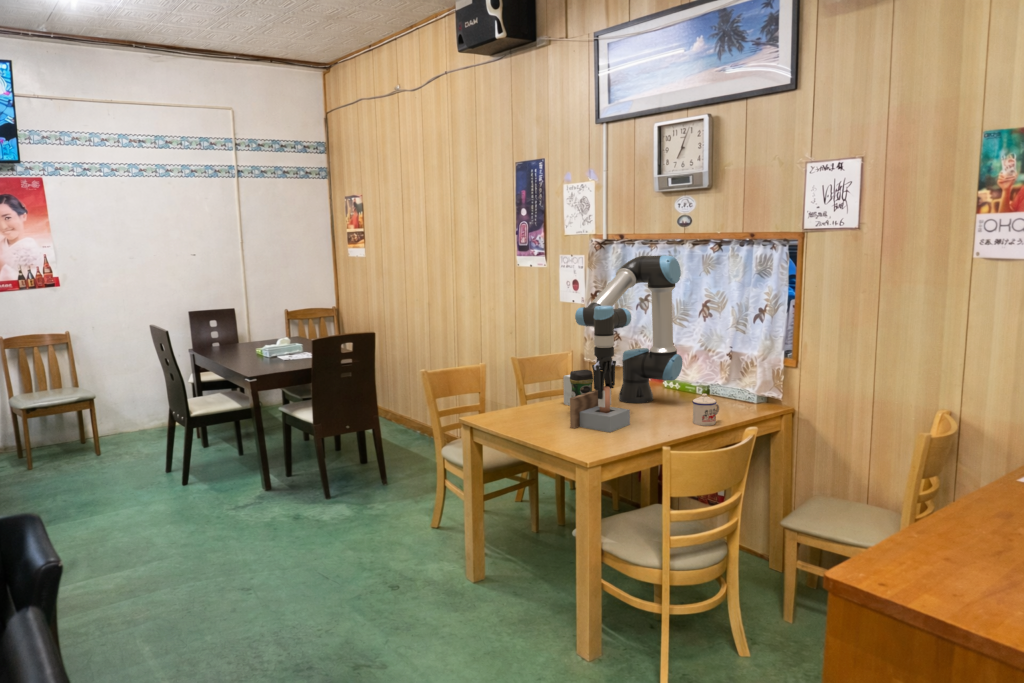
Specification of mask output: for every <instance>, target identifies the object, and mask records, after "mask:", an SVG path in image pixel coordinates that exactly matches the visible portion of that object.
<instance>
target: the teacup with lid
mask: <svg viewBox="0 0 1024 683" xmlns="http://www.w3.org/2000/svg"><path fill="white" fill-rule="evenodd" d="M719 412H720V405H719V403H717V399H714V398H712V397H710V396H708V394H707V393H702V394H701V396H699V397H696V398H693V400H692V423H693V424H694V425H698V426H703V427H707V426H709V427H710V426H713V425H716V422H717V415H718V414H719Z"/></svg>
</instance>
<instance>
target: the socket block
mask: <svg viewBox="0 0 1024 683" xmlns="http://www.w3.org/2000/svg"><path fill="white" fill-rule="evenodd" d="M630 422H631V410H630V409H629V408H628V409H627V408H621V407H620V408H619V407H616V406H610V412H609V413H602V412H600V407H598V406H596V407H593V408H590V409H587V410H584V411H581V412H580V427H579V428H584V429H587V430H588V429H589V430H594V431H600V432H606V433H613V432H615V431H618V430H620V429H622V428H625V427H627V426H630V425H631V423H630Z"/></svg>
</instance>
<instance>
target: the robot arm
mask: <svg viewBox="0 0 1024 683" xmlns="http://www.w3.org/2000/svg"><path fill="white" fill-rule="evenodd" d="M681 270H682V269H681V266H680V262H679V261H678V260H677V257H675V256H673V255H666V254H665V255H661V254H660V255H640V256H637V257H634V258H632V259H630V260H629V261H627V262H626V263H624V264H623V265H622V266H621V267H620V268H619V269H618V270H617V271H616V273H615V276H614V278H612V280H611V281H610V282H608V284H607V285H606V286H605V287H604V288H603V289H602V290H601V291H600V292H599V293H598V295H597V296H595V298H594V299H593V300H592V301H591V302H590V303H589V304H588V305H587V306H586V307H585V306H583V307H578V308H577V310H576V311H575V314H574V319H575V322H576V324H577V325H578V326H583V327H587V328H588V327H591V328H592V327H593V328H594V329H593V331H594V332H593V335H594V340H593V342H594V343H593V344H594V347H593V348H594V352H593V354H594V357H595V358H596V363H595V364H592V365H591V368H592V371H593V372H592V374H593V389H594V390H598V407H605V391H604V386H608V387H610V406H611V405H612V389H614V388H615V385H616V365H617V360H613V358H612V357H614V356H615V347H614V345H615V335H614V333H615V329H622V328H625V327H627V326H629V325H630V324H631V322H632V315H631V312H630V310H628V309H627V308H624V307H622V308H621V307H618V308H614V307H613V306H614V305H615V304H616V303H617V302H618V301H619V300H620V299H621V298H622V296H623V295H624V294H625V293H626V292H627V291H628V289H631V288H633V287H634V286H635V285H636V284H641V283H643V284H644V283H645V284H647V289H648V290H650V291H651V315H652V316H651V319H652V320H651V321H652V326H651V327H652V347H651V348H647V347H643V348H641V347H640V348H633V349H632V348H631V349H627V350H625V351H623V353H622V360H621V361H622V385H621V388H620V391H619V393H618V394H619V395H618V400H619V401H621V402H623V403H629V404H644V403H651V402H652V401H653V400H654V394H653V391H652V388H651V385H650V380H659V381H669V382H670V381H671V382H672V381H675V380H676V379H677V378H679V376H680V374H681V372H682V370H683V358H682V356H681V354H678V351H677V350H678V349H677V347H676V346H674V333H673V332H674V331H673V330H674V327H673V325H674V324H673V291H674V290H675V288H676V284H678V282H679V281H680V280H681V277H682V276H681V275H682V273H681V272H682V271H681Z"/></svg>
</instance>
